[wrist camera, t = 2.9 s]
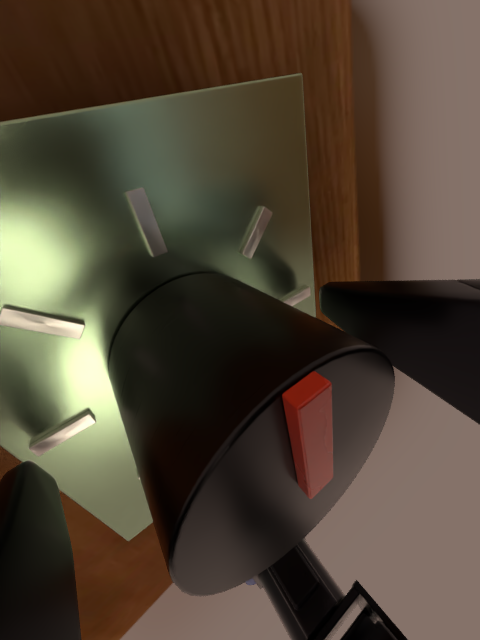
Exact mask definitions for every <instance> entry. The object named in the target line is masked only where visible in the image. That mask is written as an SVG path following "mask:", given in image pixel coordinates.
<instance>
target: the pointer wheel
mask: <svg viewBox="0 0 480 640" xmlns="http://www.w3.org/2000/svg"><path fill="white" fill-rule="evenodd" d="M109 375H110V381H111V386H112V389H113V392H114V395H115V399H116V402H117V405H118V409H119V412H120V415H121V418H122V422H123V425H124V428H125V431H126V435H127V438H128V441H129V444H130V448H131V451H132V454H133V457H134V461H135V464H136V467H137V471H138V474H139V477H140V480H141V484H142V487H143V490H144V493H145V497H146V500H147V503H148V506H149V510H150V513H151V516H152V519H153V523H154V526H155V529H156V532H157V536H158V539H159V542H160V546H161V549H162V552H163V555H164V559H165V562H166V565H167V568H168V572H169V574H170V576H171V579H172V581H173V582H174V583H175V584H176V585H177V586H178V587H179V589H181V591H183V592H184V593H187V594H189V595H192V596H208V595H214V594H217V593H221V592H223V591H227V590H229V589H231V588H233V587H236V586H238V585H240V584H242V583H244V582H246V581H248V580H250V579H251V578H253V577H255V576H256V575H258V574H260V573H261V572H263V571H264V570H265V569H267V568H268V567H270V566H271V565H273V564H274V563H275V562H276V561H278V560H279V559H280V558H282V557H283V556H284V555H285V554H286V553H288V552H289V551H290V550H291V549H292V548H293V547H295V546H296V545H297V544H298V543H299V542H300V541H301V540H302V539H303V538H304V537H305V536H306V535H307V534H308V533H309V532H310V531H311V530H312V529H313V528H314V527H315V526H316V525H317V524H318V523H319V522H320V521H321V520H322V518H323V517H325V515H326V514H327V513H328V512H329V511H330V510H331V508H332V507H333V506H334V505H335V504H336V502H337V501H338V500H339V499H340V497H341V496H342V495H343V494H344V492H345V491H346V490H347V488H348V487H349V486H350V484H351V483H352V481H353V480H354V478H355V477H356V476H357V474H358V473H359V471H360V470H361V468H362V466H363V465H364V463H365V462H366V460H367V458H368V456H369V455H370V453H371V451H372V449H373V448H374V446H375V444H376V442H377V440H378V438H379V436H380V434H381V432H382V429H383V427H384V424H385V422H386V419H387V416H388V413H389V410H390V407H391V403H392V399H393V394H394V386H395V383H394V382H395V376H394V369H393V366H392V364H391V361H390V360H389V358H388V357H387V356H386V355H385V354H384V352H382V351H381V350H379V349H378V348H376V347H374V346H372V345H370V344H368V343H366V342H364V341H362V340H360V339H358V338H356V337H354V336H352V335H350V334H348V333H346V332H344V331H342V330H340V329H337V328H335V327H333V326H331V325H329V324H327V323H325V322H323V321H321V320H319V319H317V318H315V317H313V316H311V315H309V314H307V313H305V312H303V311H301V310H299V309H296V308H294V307H292V306H290V305H288V304H286V303H284V302H282V301H280V300H278V299H276V298H274V297H272V296H270V295H268V294H266V293H264V292H262V291H260V290H258V289H256V288H253V287H251V286H249V285H247V284H245V283H243V282H241V281H239V280H237V279H235V278H232V277H229V276H226V275H222V274H215V273H202V274H193V275H189V276H185V277H182V278H179V279H176V280H173V281H171V282H169V283H167V284H165V285H163V286H161V287H159V288H158V289H157V290H155V291H154V292H152V293H151V294H149V295H148V296H147V297H146V298H145V299H143V300H142V301H141V302H140V303H139V304H138V305H137V306H136V307H135V308H134V310H133V311H132V312H131V313H130V314H129V315H128V317H127V318H126V320H125V321H124V323H123V324H122V326H121V328H120V330H119V332H118V334H117V336H116V338H115V340H114V344H113V347H112V350H111V355H110V361H109Z"/></svg>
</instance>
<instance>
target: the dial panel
mask: <svg viewBox="0 0 480 640" xmlns="http://www.w3.org/2000/svg"><path fill="white" fill-rule="evenodd" d="M202 273H215V274H222V275H226V276H229V277H232V278H235V279H237V280H239V281H241V282H243V283H245V284H247V285H249V286H251V287H253V288H256V289H258V290H260V291H262V292H264V293H266V294H268V295H270V296H272V297H274V298H276V299H278V300H280V301H282V302H284V303H286V304H288V305H290V306H292V307H294V308H296V309H299V310H301V311H303V312H305V313H307V314H309V315H311V316H313V317H315V318H316V308H315V290H314V273H313V255H312V237H311V220H310V202H309V184H308V166H307V149H306V131H305V113H304V96H303V78H302V74H301V73H295V74H289V75H283V76H277V77H271V78H264V79H258V80H252V81H246V82H239V83H233V84H227V85H221V86H215V87H208V88H202V89H196V90H190V91H184V92H177V93H171V94H165V95H159V96H152V97H146V98H140V99H134V100H128V101H121V102H115V103H109V104H103V105H97V106H90V107H84V108H78V109H72V110H66V111H59V112H53V113H47V114H41V115H34V116H28V117H22V118H16V119H10V120H3V121H0V446H1V447H2V448H4V449H5V450H6V451H8V452H9V453H10V454H12V455H13V456H14V457H16V458H17V459H18V460H20V461H21V462H22V463H23V462H25V461H29V460H30V461H33V462H35V463H36V464H37V465H39V466H40V467H41V468H42V469H44V470H45V471H46V472H48V473H49V474H50V475H51V476H53V478H54V479H55V481H56V483H57V485H58V489H59V490H60V491H61V492H63V493H64V494H65V495H67V496H68V497H69V498H71V499H72V500H73V501H75V502H76V503H77V504H79V505H80V506H82V507H83V508H84V509H86V510H87V511H88V512H90V513H91V514H92V515H94V516H95V517H96V518H98V519H99V520H100V521H102V522H103V523H104V524H106V525H107V526H108V527H110V528H111V529H112V530H114V531H115V532H116V533H118V534H119V535H120V536H122V537H123V538H124V539H126V540H127V541H129V540H131V539H132V538H133V537H135V536H136V535H137V534H138V533H140V532H141V531H142V530H143V529H145V528H146V527H147V526H149V525H150V524H151V523H152V522H153V519H152V516H151V513H150V510H149V506H148V503H147V500H146V497H145V493H144V490H143V487H142V484H141V480H140V477H139V474H138V471H137V467H136V464H135V461H134V457H133V454H132V451H131V448H130V444H129V441H128V438H127V435H126V431H125V428H124V425H123V422H122V418H121V415H120V412H119V409H118V405H117V402H116V399H115V395H114V392H113V389H112V386H111V381H110V375H109V361H110V355H111V350H112V347H113V344H114V340H115V338H116V336H117V334H118V332H119V330H120V328H121V326H122V324H123V323H124V321H125V320H126V318H127V317H128V315H129V314H130V313H131V312H132V311H133V310H134V308H135V307H136V306H137V305H138V304H139V303H140V302H141V301H142V300H143V299H145V298H146V297H147V296H148V295H149V294H151V293H152V292H154V291H155V290H157V289H158V288H159V287H161V286H163V285H165V284H167V283H169V282H171V281H173V280H176V279H179V278H182V277H185V276H189V275H193V274H202Z"/></svg>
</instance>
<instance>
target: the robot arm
mask: <svg viewBox="0 0 480 640" xmlns="http://www.w3.org/2000/svg"><path fill="white" fill-rule="evenodd" d="M319 298H320V309H321V311H322V313H323V314H324V315H325V316H327V317H328V318H329V319H330V320H331V321H333V322H334V323H335V324H336V325H337V326H339V327H340V328H341V329H342V330H343V331H345V332H346V333H348V334H350V335H352V336H354V337H356V338H358V339H360V340H362V341H364V342H366V343H368V344H370V345H372V346H374V347H376V348H378V349H379V350H381V351H382V352H384V354H385V355H386V356H387V357H388V358H389V360H390V361H391V364H392V365H393V366H394V367H396V368H397V369H398V370H400V371H401V372H403V373H405V374H406V375H407V376H409V377H410V378H412V379H413V380H415V381H416V382H418V383H419V384H421V385H422V386H424V387H425V388H426V389H428V390H429V391H431V392H432V393H434V394H435V395H437V396H438V397H440V398H441V399H443V400H444V401H446V402H447V403H449V404H450V405H452V406H453V407H455V408H456V409H457V410H459V411H461V412H462V413H463V414H465V415H467V416H468V417H469V418H471V419H472V420H474V421H475V422H477V423H478V424H480V279H476V280H475V279H471V280H470V279H469V280H413V281H354V282H329V283H327V284H325V285H323V286H322V287H321V288H320V290H319ZM253 580H254V581H255V582H256V584H257V585H258V587H259V588H260V589H261V588H264V590H265V592H266V593H267V596H268V597H269V599H270V601H271V603H272V605H273V607H274V608H275V611H276V612H277V614H278V616H279V618H280V620H281V622H282V624H283V626H284V628H285V629H286V631H287V633H288V635H289V637H290V639H291V640H330V639H331V638H332V637H333V636H334V634H335V633H336V632H337V630H338V629H339V628H340V626H341V625H342V624H343V622H344V621H345V620H346V618H347V617H348V616H349V615H350V613H351V612H352V611H353V609H354V608H355V607H356V605H357V604H358V605H359V607H360V608H361V610H362V611H361V613H360V614H359V615H358V616H357V618H356V619H355V621H354V622H353V623H352V624H351V626H350V627H349V628H348V630H347V631H346V632H345V634H344V635H343V636H342V638H341V639H340V640H407V638H406V637H405V636H404V635H403V634H402V632H401V631H400V630H399V629H398V628H397V627H396V625H395V624H394V623H393V622H392V621H391V620H390V618H389V617H388V616H387V615H386V614H385V613H384V611H383V610H382V609H381V608H380V607H379V606H378V604H377V603H376V602H375V601H374V600H373V599H372V597H371V596H370V595H369V594H368V593H367V592H366V590H365V589H364V588H363V587H362V586H361V585H360V584H359V582H358V581H357V580H356V581H355V582H354V583H353V585H352V588H351V590H350V591H349V592H348V593H347V595H346V596H345V595H344V593H343V592H342V591H341V589H340V588H339V586H338V585H337V584H336V582H335V581H334V579H333V578H332V577H331V576H330V574H329V573H328V571H327V570H326V569H325V567H324V566H323V564H322V563H321V562H320V560H319V559H318V558H317V556H316V555H315V553H314V552H313V550H312V549H311V548H310V546H309V545H308V544H307V542H306V541H305V537H304V538H303V539H302V540H301V541H300V542H299V543H298V544H297V545H296V546H295V547H293V548H292V549H291V550H290V551H289V552H288V553H286V554H285V555H284V556H283V557H282V558H280V559H279V560H278V561H276V562H275V563H274V564H273V565H271V566H270V567H268V568H267V569H265V570H264V571H263V572H261V573H260V574H258V575H256V576H255V577H253ZM0 640H81V632H80V622H79V611H78V601H77V591H76V581H75V571H74V561H73V553H72V547H71V542H70V537H69V533H68V529H67V524H66V520H65V516H64V511H63V507H62V503H61V498H60V494H59V490H58V485H57V483H56V481H55V479H54V478H53V476H51V475H50V474H49V473H48V472H46V471H45V470H44V469H42V468H41V467H40V466H39V465H37V464H36V463H35V462H33V461H30V460H29V461H25V462H23V463H21V464H19V465H18V466H16V467H14V468H13V469H11V470H9V471H8V472H7V473H6V474H5V475H4V476H3V478H2V479H1V481H0Z"/></svg>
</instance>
